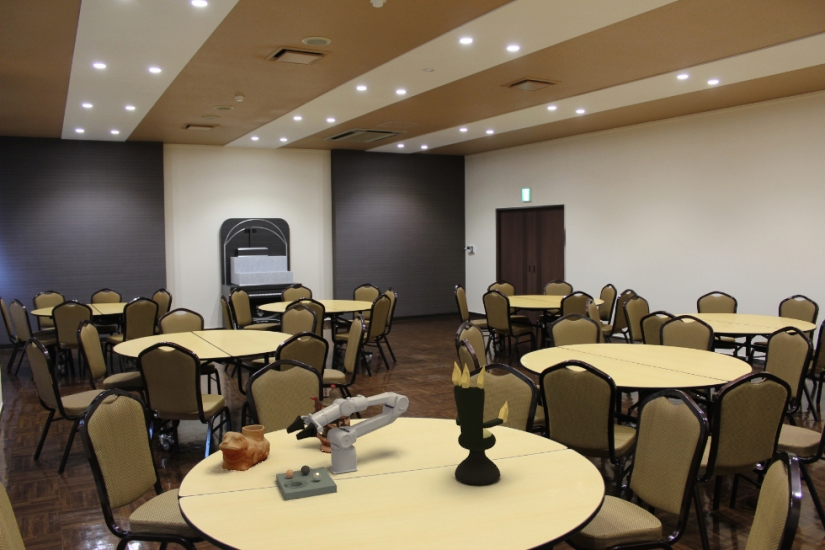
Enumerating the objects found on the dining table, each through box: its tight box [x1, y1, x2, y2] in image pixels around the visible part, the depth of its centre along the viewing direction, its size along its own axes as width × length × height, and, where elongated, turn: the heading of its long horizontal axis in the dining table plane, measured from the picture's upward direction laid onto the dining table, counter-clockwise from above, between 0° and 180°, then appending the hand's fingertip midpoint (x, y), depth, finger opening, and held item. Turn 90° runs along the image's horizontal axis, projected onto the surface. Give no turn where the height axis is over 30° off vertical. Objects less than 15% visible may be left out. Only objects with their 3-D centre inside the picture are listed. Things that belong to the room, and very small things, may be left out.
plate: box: [275, 466, 338, 501], centre depth 236 cm, size 18×20×2 cm
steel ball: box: [312, 472, 321, 481], centre depth 235 cm, size 3×3×3 cm
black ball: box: [300, 464, 311, 475], centre depth 241 cm, size 3×3×3 cm
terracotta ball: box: [285, 469, 294, 478], centre depth 238 cm, size 3×3×3 cm
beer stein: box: [306, 384, 353, 454], centre depth 279 cm, size 17×28×18 cm
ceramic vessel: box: [218, 424, 271, 472], centre depth 262 cm, size 14×26×15 cm, turn 158°
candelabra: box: [451, 361, 509, 486], centre depth 237 cm, size 19×22×45 cm
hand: (291, 434), depth 239 cm, fingers open, 7 cm apart
